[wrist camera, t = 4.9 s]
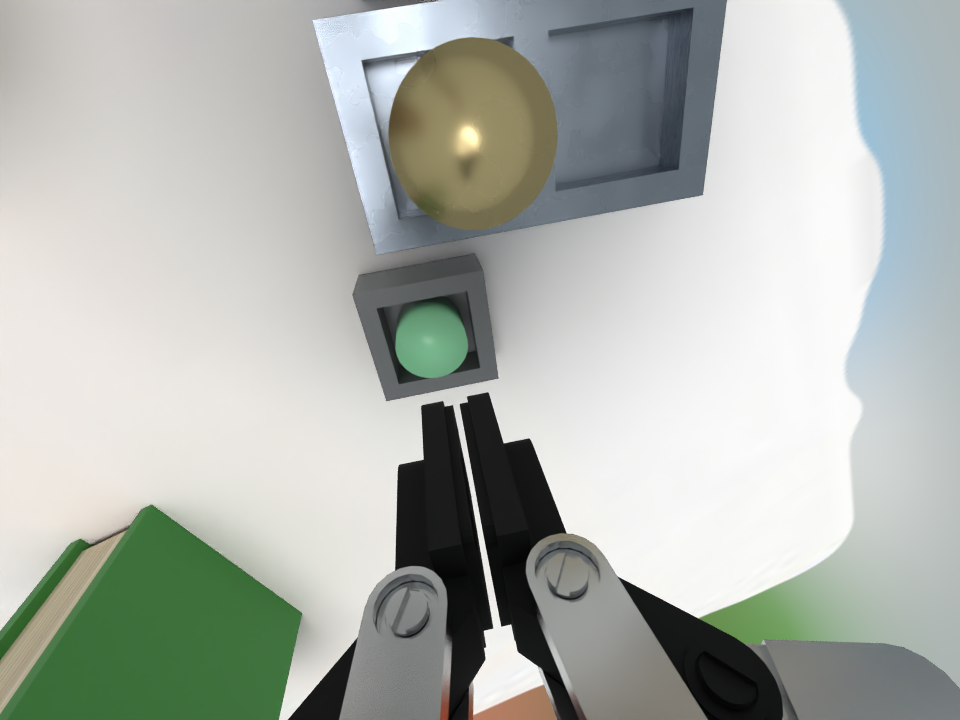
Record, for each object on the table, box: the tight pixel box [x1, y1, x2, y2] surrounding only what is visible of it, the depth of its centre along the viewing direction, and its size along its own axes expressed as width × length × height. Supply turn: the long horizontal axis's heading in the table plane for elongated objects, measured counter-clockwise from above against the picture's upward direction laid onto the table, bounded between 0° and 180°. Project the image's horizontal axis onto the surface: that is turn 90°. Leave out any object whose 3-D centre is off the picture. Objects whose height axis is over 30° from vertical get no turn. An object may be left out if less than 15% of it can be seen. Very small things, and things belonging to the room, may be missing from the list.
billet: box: [388, 37, 558, 230], centre depth 17 cm, size 5×5×10 cm
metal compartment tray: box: [312, 0, 727, 255], centre depth 21 cm, size 18×10×3 cm, turn 98°
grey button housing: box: [353, 254, 498, 401], centre depth 25 cm, size 7×7×3 cm
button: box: [395, 296, 468, 378], centre depth 24 cm, size 4×4×3 cm
